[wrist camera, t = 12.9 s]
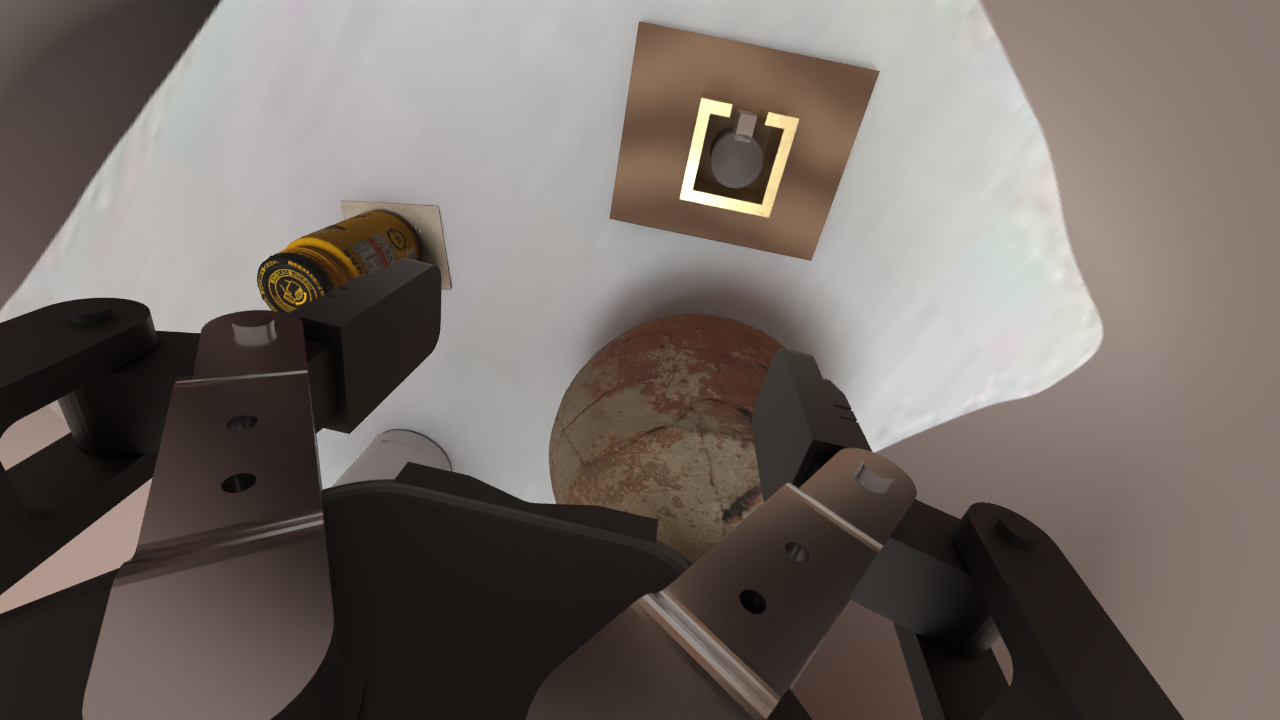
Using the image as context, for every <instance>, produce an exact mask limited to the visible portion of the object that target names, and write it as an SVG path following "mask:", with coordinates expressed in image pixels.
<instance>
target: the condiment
mask: <svg viewBox="0 0 1280 720" xmlns="http://www.w3.org/2000/svg"><path fill="white" fill-rule="evenodd" d="M341 204H342V209H343V212H344V216H345V220H344V221H341V222H339V223H337V224H334V225H332V226H328V227H326V228H324V229H321V230H319V231H317V232H313V233H310V234H308V235H306V236H303V237H301V238H299V239H297V240H295V241H293V242H291V243H290V244H289V245H288V246H287V248H286V249H284V250H283V251H281V252H280V253H277V254H275V255H274V256H270V257H269V258H268V259H267V260H266V261H264V262H263V263H262V264H261V265H260V267H259V270H258V275H257V282H258V287H259V290H260V293H261V295H262V299H263V300H264V301H265V302H266V303H267V305H268V306H269V308H270V309H271V310H272V311H277V312H283V313H286V314H288V313H290V312H292V311H294V310H296V309H298V308H299V307H301V306H303V305H305V304H307V303H309V302H310V301H312V300H314V299H316V298H318V297H320V296H321V295H323V296H325V293H327V292H329V291H331V290H332V289H334V288H337V289H338V286H340V285H342V284H343V283H345V282H347V281H349V280H351V279H353V278H355V277H359V276H363V275H368V274H372V273H376V272H379V271H381V270H383V269H384V268H386V267H388V266H390V265H391V264H393V263H395V262H397V261H398V260H400V259H402V258H407V259H411V260H415V261H420V262H424V263H428V264H432V265H436V266H438V267H439V269H440V271H441V280H442V281H441V289H446V290H451V288H450V277H449V271H448V265H447V257H446V251H445V243H444V238H443V234H442V226H441V220H440V215H439V209H438V206H425V205H407V204H391V203H374V202H355V201H341ZM415 226H416V227H417V228H418V229H420V230H422V233H421V232H420V231H419V230H418V229H416V228H415Z"/></svg>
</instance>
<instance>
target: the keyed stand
mask: <svg viewBox="0 0 1280 720" xmlns="http://www.w3.org/2000/svg"><path fill="white" fill-rule="evenodd" d="M879 72H880V71H876V70H871V69H866V68H861V67H856V66H852V65H847V64H842V63H837V62H832V61H827V60H823V59H818V58H813V57H808V56H803V55H798V54H794V53H789V52H784V51H779V50H774V49H770V48H765V47H760V46H755V45H750V44H745V43H741V42H736V41H731V40H726V39H721V38H716V37H712V36H707V35H702V34H697V33H692V32H688V31H683V30H678V29H673V28H668V27H663V26H659V25H654V24H649V23H644V22H639V25H638V32H637V38H636V45H635V52H634V59H633V65H632V72H631V79H630V85H629V92H628V99H627V106H626V112H625V119H624V126H623V133H622V139H621V146H620V153H619V159H618V166H617V173H616V180H615V186H614V193H613V200H612V207H611V213H610V219H614V220H618V221H623V222H628V223H633V224H638V225H642V226H647V227H652V228H657V229H662V230H666V231H671V232H676V233H681V234H686V235H690V236H695V237H700V238H705V239H710V240H714V241H719V242H724V243H729V244H734V245H738V246H743V247H748V248H753V249H758V250H762V251H767V252H772V253H777V254H782V255H786V256H791V257H796V258H801V259H806V260H810V261H811V260H812V257H813V254H814V251H815V249H816V246H817V243H818V240H819V238H820V235H821V232H822V229H823V227H824V224H825V221H826V218H827V215H828V213H829V210H830V207H831V204H832V202H833V199H834V196H835V193H836V191H837V188H838V185H839V182H840V180H841V177H842V174H843V171H844V169H845V166H846V163H847V160H848V158H849V155H850V152H851V149H852V146H853V144H854V141H855V138H856V135H857V133H858V130H859V127H860V124H861V122H862V119H863V116H864V113H865V111H866V108H867V105H868V102H869V100H870V97H871V94H872V91H873V89H874V86H875V83H876V80H877V77H878V75H879ZM701 96H706V97H711V98H716V99H720V100H725V101H729V102H730V103H731V104H732V109H731V113H730V117H725V116H721V115H716V114H711V113H710V116H709V120H708V124H707V129H706V133H705V138H704V142H703V147H702V151H701V155H700V160H699V164H698V169H697V173H696V177H695V178H700V179H704V180H709V181H714V182H719V183H721V184H723V185H724V186H727V187H730V188H741V187H742V188H747V189H752V190H755V187H756V184H757V180H758V177H759V173H760V171H761V168H762V164H763V159H764V156H765V152H766V149H767V145H768V142H769V138H770V135H771V131H772V128H773V126H768V125H765V124H763V123H762V122H760V121H759V120H758V119H757V117H758V113H759V110H760V108H763V109H768V110H773V111H777V112H782V113H787V114H789V115H792V116H794V117H797V118H799V122H798V125H797V129H796V132H795V135H794V138H793V142H792V145H791V148H790V151H789V154H788V158H787V161H786V164H785V167H784V171H783V174H782V177H781V180H780V184H779V187H778V190H777V193H776V197H775V200H774V203H773V206H772V210H771V213H770V216H769V218H768V217H763V216H758V215H753V214H749V213H744V212H739V211H734V210H730V209H725V208H720V207H715V206H711V205H706V204H701V203H696V202H692V201H687V200H682V199H680V194H681V188H682V183H683V178H684V174H685V169H686V165H687V160H688V155H689V151H690V146H691V141H692V137H693V132H694V127H695V123H696V118H697V114H698V109H699V104H700V100H701Z"/></svg>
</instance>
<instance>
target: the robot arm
mask: <svg viewBox="0 0 1280 720" xmlns="http://www.w3.org/2000/svg"><path fill="white" fill-rule="evenodd" d="M441 281H442V280H441V271H440V269H439V267H438V266H436V265H432V264H428V263H424V262H420V261H415V260H411V259H407V258H402V259H400V260H398V261H397V262H395V263H393V264H391V265H390V266H388V267H386V268H384V269H383V270H381V271H379V272H376V273H372V274H368V275H363V276H359V277H355V278H353V279H351V280H349V281H347V282H345V283H343V284H342V285H340V286H338V289H337V288H334V289H332V290H331V291H329V292H327V293H325V296H323V295H321V296H320V297H318V298H316V299H314V300H312V301H310V302H309V303H307V304H305V305H303V306H301V307H299V308H298V309H296V310H294V311H292V312H290V313H288V314H286V313H283V312H277V311H268V310H251V311H241V312H235V313H230V314H226V315H223V316H220V317H217V318H215V319H213V320H211V321H209V322H208V323H207V324H205V325H204V327H203V328H202V330H201V333H185V332H168V331H155V328H154V324H153V320H152V317H151V313H150V310H149V308H148V307H147V306H145V305H144V304H142V303H139V302H136V301H132V300H127V299H119V298H88V299H78V300H71V301H66V302H61V303H57V304H53V305H49V306H46V307H43V308H40V309H38V310H35V311H32V312H29V313H27V314H24V315H21V316H19V317H16V318H13V319H10V320H8V321H5V322H2V323H0V438H1V436H2V435H3V433H4V432H5V431H6V430H7V428H8V427H9V426H11V425H12V424H13V423H15V422H16V421H18V420H20V419H21V418H23V417H25V416H27V415H29V414H31V413H33V412H35V411H37V410H39V409H40V408H42V407H44V406H46V405H48V404H50V403H52V402H54V401H56V400H58V402H59V405H60V407H61V409H62V412H63V414H64V417H65V419H66V421H67V424H68V426H69V429H70V431H71V433H69V434H67V435H66V436H64V437H62V438H61V439H59V440H57V441H55V442H54V443H52V444H50V445H49V446H47V447H45V448H44V449H42V450H40V451H38V452H37V453H35V454H33V455H32V456H30V457H28V458H27V459H25V460H23V461H22V462H20V463H18V464H16V465H15V466H13V467H11V468H10V469H8V470H6V471H5V469H4V467H3V466H2V464H1V462H0V595H1V594H2V593H4V592H5V591H6V590H7V589H9V588H10V587H11V586H13V585H14V584H15V583H17V582H18V581H19V580H20V579H22V578H23V577H24V576H25V575H27V574H28V573H29V572H31V571H32V570H33V569H35V568H36V567H37V566H38V565H40V564H41V563H42V562H44V561H45V560H46V559H47V558H49V557H50V556H51V555H53V554H54V553H55V552H57V551H58V550H59V549H60V548H62V547H63V546H64V545H66V544H67V543H68V542H69V541H71V540H72V539H73V538H75V537H76V536H77V535H79V534H80V533H81V532H82V531H83V530H85V529H86V528H87V527H89V526H90V525H91V524H93V523H94V522H95V521H97V520H98V519H99V518H100V517H102V516H103V515H104V514H106V513H107V512H108V511H110V510H111V509H112V508H113V507H114V506H116V505H117V504H118V503H120V502H121V501H122V500H124V499H125V498H126V497H127V496H129V495H130V494H131V493H133V492H134V491H135V490H137V489H138V488H139V487H140V486H142V485H143V484H144V483H146V482H147V481H148V480H150V479H151V478H152V477H153V478H152V483H151V487H150V492H149V496H148V501H147V505H146V509H145V514H144V518H143V522H142V527H141V531H140V536H139V540H138V544H137V548H136V551H135V554H134V556H133V558H132V559H131V560H129V561H127V562H124V563H123V565H121V567H120V568H118V569H115V570H113V571H110V572H107V573H105V574H102V575H100V576H97V577H95V578H92V579H89V580H87V581H84V582H82V583H79V584H77V585H74V586H71V587H69V588H66V589H64V590H61V591H58V592H56V593H53V594H51V595H48V596H46V597H43V598H41V599H38V600H35V601H33V602H30V603H28V604H25V605H22V606H20V607H17V608H15V609H12V610H10V611H7V612H4V613H2V614H0V720H813V719H812V718H811V717H810V715H809V714H808V713H807V711H806V710H805V708H804V707H803V706H802V704H801V703H800V701H799V700H798V699H797V697H796V696H795V695H794V693H793V692H792V690H791V689H792V687H793V686H794V684H795V683H796V681H797V680H798V678H799V676H800V675H801V673H802V672H803V670H804V669H805V667H806V666H807V664H808V663H809V661H810V660H811V658H812V657H813V655H814V654H815V652H816V651H817V649H818V648H819V646H820V645H821V643H822V642H823V640H824V639H825V637H826V636H827V634H828V633H829V631H830V629H831V628H832V627H833V625H834V624H835V622H836V620H837V619H838V617H839V616H840V614H841V613H842V611H843V610H844V608H845V607H846V605H847V604H848V602H849V601H850V600H852V601H854V602H857V603H858V604H860V605H862V606H864V607H866V608H868V609H870V610H872V611H874V612H876V613H878V614H880V615H882V616H884V617H886V618H888V619H890V620H892V621H893V622H894V625H895V629H896V633H897V636H898V639H899V642H900V646H901V648H902V652H903V655H904V658H905V662H906V665H907V668H908V672H909V675H910V678H911V681H912V684H913V688H914V691H915V694H916V697H917V700H918V704H919V707H920V710H921V713H922V717H923V720H1184V719H1183V717H1182V716H1181V715H1180V713H1179V712H1178V711H1177V709H1176V708H1175V707H1174V705H1173V704H1172V703H1171V701H1170V700H1169V698H1168V697H1167V696H1166V694H1165V693H1164V691H1163V690H1162V689H1161V687H1160V686H1159V685H1158V683H1157V682H1156V680H1155V679H1154V678H1153V676H1152V675H1151V674H1150V672H1149V671H1148V669H1147V668H1146V667H1145V665H1144V664H1143V663H1142V661H1141V660H1140V659H1139V657H1138V656H1137V654H1136V653H1135V652H1134V650H1133V649H1132V648H1131V646H1130V645H1129V644H1128V642H1127V641H1126V639H1125V638H1124V637H1123V635H1122V634H1121V633H1120V631H1119V630H1118V629H1117V627H1116V626H1115V624H1114V623H1113V621H1112V620H1111V619H1110V617H1109V616H1108V615H1107V613H1106V612H1105V611H1104V609H1103V608H1102V606H1101V605H1100V604H1099V602H1098V601H1097V600H1096V598H1095V597H1094V595H1093V594H1092V593H1091V591H1090V590H1089V589H1088V587H1087V586H1086V584H1085V583H1084V582H1083V580H1082V579H1081V578H1080V576H1079V575H1078V574H1077V572H1076V571H1075V569H1074V568H1073V567H1072V565H1071V564H1070V563H1069V561H1068V560H1067V558H1066V557H1065V556H1064V554H1063V553H1062V552H1061V550H1060V549H1059V548H1058V546H1057V545H1056V544H1055V542H1054V541H1053V540H1052V539H1051V538H1050V537H1049V536H1048V535H1047V534H1046V533H1045V532H1044V531H1042V530H1041V529H1040V528H1039V527H1037V526H1036V525H1035V524H1033V523H1032V522H1030V521H1029V520H1027V519H1026V518H1024V517H1023V516H1021V515H1019V514H1017V513H1015V512H1013V511H1011V510H1009V509H1007V508H1004V507H1001V506H999V505H995V504H991V503H984V502H980V503H975V504H973V505H971V506H970V507H969V509H968V510H967V512H966V513H965V514H964V516H963V517H962V518H961V519H958V518H956V517H954V516H951V515H949V514H947V513H945V512H943V511H940V510H938V509H935V508H933V507H931V506H929V505H927V504H924V503H922V502H920V501H918V500H916V499H915V498H916V496H917V490H916V486H915V484H914V482H913V481H912V479H911V478H910V477H909V476H908V475H907V473H906V472H905V471H903V470H902V469H901V468H900V467H899V466H897V465H896V464H895V463H893V462H892V461H890V460H888V459H887V458H885V457H883V456H881V455H879V454H877V453H874V452H872V450H871V448H870V446H869V444H868V442H867V440H866V438H865V436H864V434H863V432H862V430H861V428H860V426H859V423H856V421H857V419H856V417H855V415H854V413H853V411H851V407H850V405H849V403H848V401H847V399H846V397H845V395H844V394H843V393H842V392H841V391H840V390H839V389H838V388H837V387H836V386H835V385H834V384H833V383H832V382H831V381H829V380H825V379H823V378H822V375H821V373H820V371H819V369H818V366H817V364H816V362H815V359H814V357H813V356H812V355H808V354H804V353H800V352H796V351H791V350H787V349H783V348H780V349H779V350H778V351H777V352H776V354H775V356H774V358H773V360H772V363H771V366H770V368H769V371H768V373H767V376H766V378H765V381H764V384H763V386H762V389H761V391H760V394H759V396H758V399H757V402H756V404H755V408H754V411H753V416H752V434H753V440H754V446H755V452H756V459H757V465H758V471H759V477H760V483H761V489H762V496H763V502H764V503H763V504H762V505H761V506H760V507H758V508H757V509H756V510H755V511H754V512H753V513H752V514H750V515H749V516H748V517H747V518H746V519H745V520H744V521H742V522H741V523H740V524H739V525H738V526H737V527H735V528H734V529H733V530H732V531H731V532H730V533H729V534H727V535H726V536H725V537H724V538H723V539H722V540H721V541H719V542H718V543H717V544H716V545H715V546H714V547H713V548H711V549H710V550H709V551H708V552H707V553H706V554H705V555H703V556H702V557H701V558H700V559H699V560H698V561H696V562H695V563H693V562H692V561H691V560H689V559H688V558H687V557H685V556H684V555H683V554H681V553H680V552H678V551H677V550H675V549H674V548H672V547H670V546H668V545H667V544H665V543H663V542H661V541H659V540H657V539H656V538H657V527H658V519H654V518H649V517H645V516H641V515H636V514H632V513H628V512H623V511H619V510H615V509H610V508H606V507H602V506H598V505H570V504H540V503H529V502H526V501H523V500H521V499H519V498H516V497H514V496H512V495H510V494H508V493H506V492H504V491H501V490H499V489H497V488H495V487H493V486H491V485H489V484H486V483H484V482H482V481H480V480H478V479H476V478H473V477H471V476H468V475H464V474H460V473H456V472H451V467H450V463H449V461H448V459H447V457H446V455H445V454H444V453H443V451H442V450H441V449H440V448H439V447H438V446H437V445H436V444H435V443H433V442H432V441H430V440H429V439H427V438H426V437H423V436H421V435H419V434H416V433H413V432H410V431H403V430H393V431H388V432H384V433H383V434H381V435H379V436H378V437H377V438H376V439H375V440H374V441H373V442H372V443H371V444H370V445H369V446H368V447H367V449H366V450H365V451H364V452H363V453H362V454H361V455H360V456H359V457H358V458H357V460H356V461H355V462H354V463H353V464H352V465H351V466H350V467H349V468H348V469H347V470H346V472H345V473H344V474H343V475H342V476H341V477H340V478H339V479H338V480H337V482H336V483H335V484H334V485H333V486H332V487H330V488H327V489H323V490H322V481H321V472H320V463H319V454H318V446H317V437H316V433H318V432H319V431H320V430H321V429H322V428H326V429H330V430H335V431H339V432H343V433H347V434H350V433H351V432H352V431H353V430H354V429H355V428H356V427H357V426H358V425H359V424H360V423H361V422H362V421H363V420H364V419H365V418H366V417H367V416H368V415H369V414H370V413H371V412H372V411H373V410H374V409H375V408H376V407H377V406H378V405H379V404H380V403H381V402H382V401H383V400H384V399H385V398H386V397H387V396H388V395H389V394H390V393H391V392H392V391H393V390H394V389H395V388H396V387H397V386H398V385H399V384H400V383H402V382H403V381H404V380H405V379H406V378H407V377H408V376H409V375H410V374H411V373H412V372H413V371H414V370H415V369H416V368H417V367H418V366H419V365H420V364H421V363H422V362H423V361H424V360H425V359H426V358H427V357H428V356H429V355H430V354H431V353H432V351H433V350H434V348H435V346H436V344H437V342H438V338H439V334H440V323H441ZM1000 636H1001V637H1002V639H1003V640H1004V643H1005V645H1006V646H1007V649H1008V650H1009V653H1010V655H1011V658H1012V663H1013V679H1012V683H1011V686H1010V687H1009V685H1008V683H1007V681H1006V679H1005V676H1004V674H1003V672H1002V670H1001V668H1000V666H999V664H998V662H997V660H996V658H995V655H994V653H993V651H992V649H991V647H990V646H991V645H992V644H993V643H994V642H995V641H996V640H997V639H998V638H999V637H1000Z"/></svg>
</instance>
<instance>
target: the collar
mask: <svg viewBox="0 0 1280 720" xmlns="http://www.w3.org/2000/svg"><path fill="white" fill-rule="evenodd" d="M731 109H732V104H731V103H730V102H729V101H725V100H720V99H716V98H711V97H706V96H701V100H700V104H699V109H698V114H697V118H696V123H695V127H694V132H693V137H692V141H691V146H690V151H689V155H688V160H687V165H686V169H685V174H684V178H683V183H682V188H681V194H680V199H682V200H687V201H692V202H696V203H701V204H706V205H711V206H715V207H720V208H725V209H730V210H734V211H739V212H744V213H749V214H753V215H758V216H763V217H768V218H769V216H770V213H771V210H772V206H773V203H774V200H775V197H776V193H777V190H778V187H779V184H780V180H781V177H782V174H783V171H784V167H785V164H786V161H787V158H788V154H789V151H790V148H791V145H792V142H793V138H794V135H795V132H796V129H797V125H798V122H799V118H797V117H794V116H792V115H789V114H787V113H782V112H777V111H773V110H768V109H763V108H760V110H759V113H758V117H757V119H758V120H759V121H760V122H762V123H763V124H765V125H768V126H773V128H772V131H771V135H770V138H769V142H768V145H767V149H766V152H765V156H764V159H763V164H762V168H761V171H760V173H759V177H758V180H757V184H756V187H755V190H752V189H747V188H742V187H741V188H730V187H727V186H724V185H723V184H721V183H719V182H714V181H709V180H704V179H700V178H695V177H696V173H697V169H698V164H699V160H700V155H701V151H702V147H703V142H704V138H705V133H706V129H707V124H708V120H709V116H710V113H711V114H716V115H721V116H725V117H730V113H731Z"/></svg>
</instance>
